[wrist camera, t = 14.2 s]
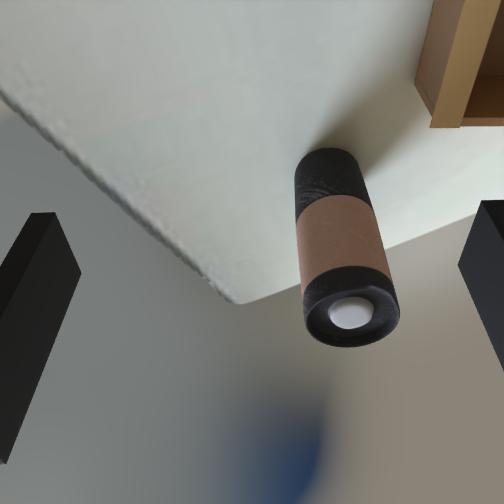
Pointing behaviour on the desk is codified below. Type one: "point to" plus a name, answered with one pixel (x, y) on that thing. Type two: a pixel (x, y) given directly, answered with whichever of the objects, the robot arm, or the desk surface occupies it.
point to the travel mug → (341, 253)
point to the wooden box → (463, 64)
